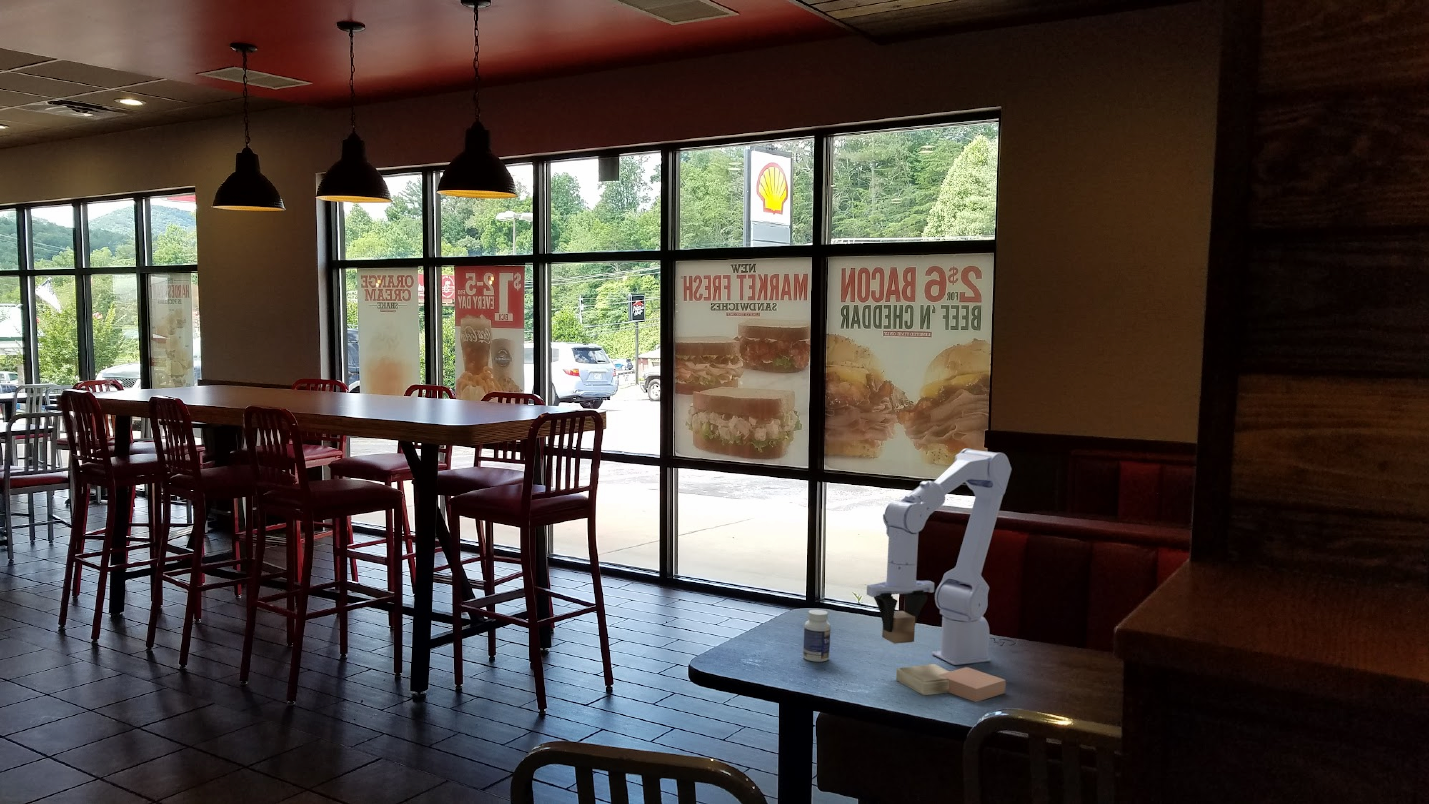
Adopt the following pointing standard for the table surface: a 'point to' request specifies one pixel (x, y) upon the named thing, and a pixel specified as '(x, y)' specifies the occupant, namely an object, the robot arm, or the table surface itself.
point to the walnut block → (901, 628)
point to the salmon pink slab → (974, 684)
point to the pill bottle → (817, 636)
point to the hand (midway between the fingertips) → (898, 629)
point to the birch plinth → (924, 679)
